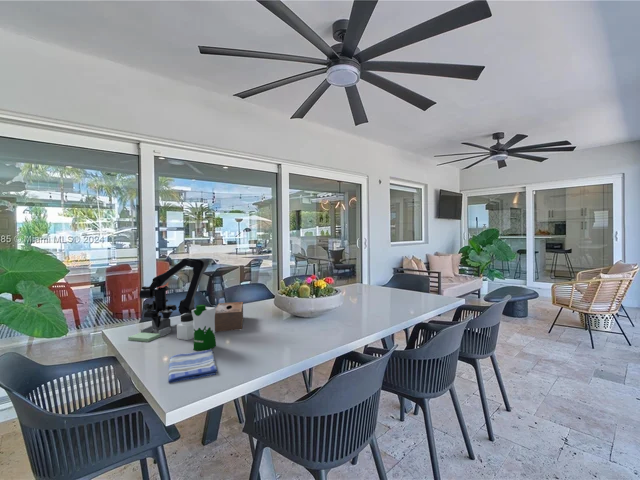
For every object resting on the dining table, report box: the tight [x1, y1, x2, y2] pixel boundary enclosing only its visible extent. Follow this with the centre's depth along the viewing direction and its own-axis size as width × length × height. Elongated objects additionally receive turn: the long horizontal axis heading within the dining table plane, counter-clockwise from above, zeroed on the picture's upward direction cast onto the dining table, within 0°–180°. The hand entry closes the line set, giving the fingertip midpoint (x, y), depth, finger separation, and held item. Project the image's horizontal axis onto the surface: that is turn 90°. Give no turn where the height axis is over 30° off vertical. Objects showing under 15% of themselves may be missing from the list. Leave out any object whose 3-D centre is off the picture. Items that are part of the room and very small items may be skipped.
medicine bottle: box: [176, 313, 194, 341], centre depth 162 cm, size 7×7×12 cm
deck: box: [127, 325, 171, 343], centre depth 165 cm, size 12×15×3 cm
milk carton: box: [191, 303, 217, 352], centre depth 146 cm, size 9×9×20 cm
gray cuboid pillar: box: [151, 317, 171, 331], centre depth 180 cm, size 8×5×5 cm, turn 73°
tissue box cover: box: [215, 301, 244, 333], centre depth 185 cm, size 26×14×10 cm, turn 12°
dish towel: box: [167, 349, 218, 383], centre depth 126 cm, size 17×24×3 cm
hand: (161, 326), depth 180 cm, fingers closed on gray cuboid pillar, 5 cm apart
